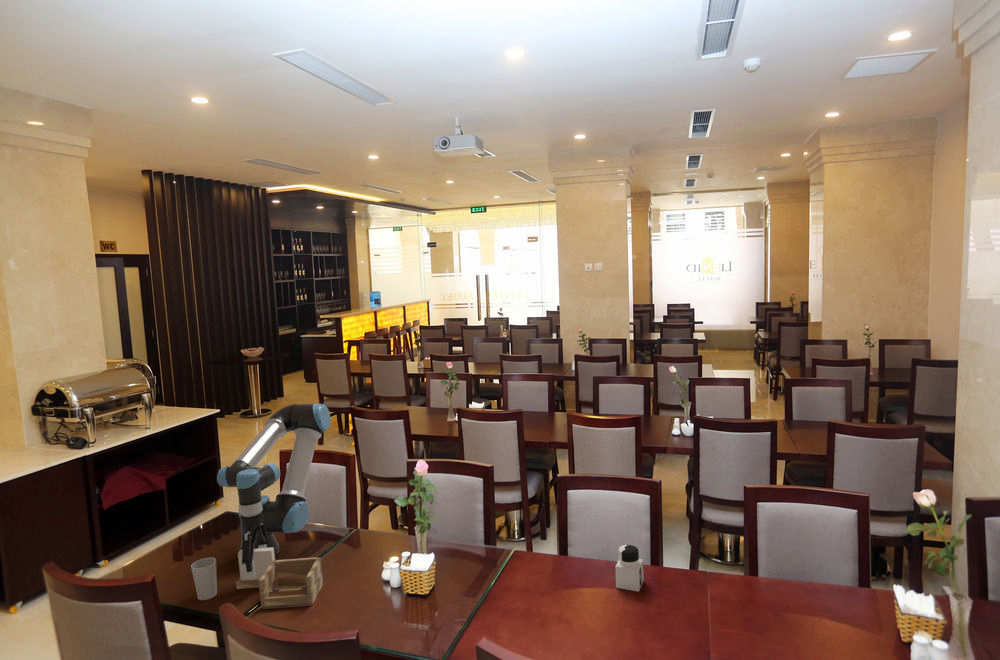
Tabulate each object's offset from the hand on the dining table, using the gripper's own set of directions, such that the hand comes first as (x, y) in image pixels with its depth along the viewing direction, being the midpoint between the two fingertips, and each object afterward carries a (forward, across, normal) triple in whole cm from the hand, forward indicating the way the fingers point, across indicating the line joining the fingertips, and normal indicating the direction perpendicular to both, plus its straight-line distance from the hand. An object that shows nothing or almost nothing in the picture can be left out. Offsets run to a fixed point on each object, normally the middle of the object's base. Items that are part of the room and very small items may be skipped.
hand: (258, 570), depth 213 cm
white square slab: (+5, 0, 0) cm, 5 cm away
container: (+5, +19, +132) cm, 133 cm away
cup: (+5, +5, -16) cm, 18 cm away
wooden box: (+5, +10, +16) cm, 19 cm away
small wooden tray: (+5, 0, 0) cm, 5 cm away
